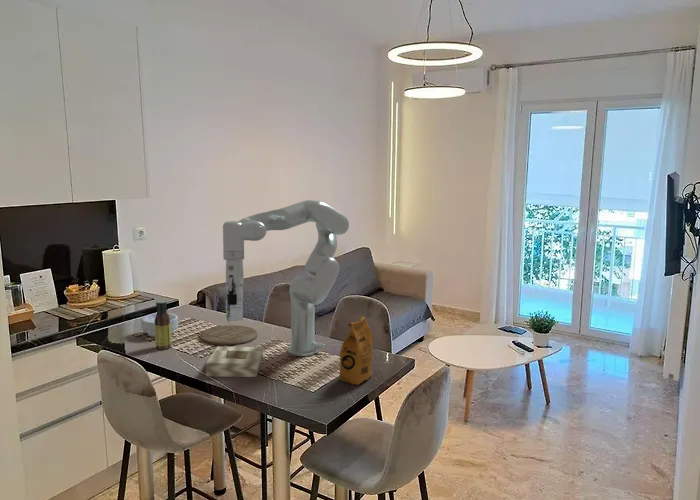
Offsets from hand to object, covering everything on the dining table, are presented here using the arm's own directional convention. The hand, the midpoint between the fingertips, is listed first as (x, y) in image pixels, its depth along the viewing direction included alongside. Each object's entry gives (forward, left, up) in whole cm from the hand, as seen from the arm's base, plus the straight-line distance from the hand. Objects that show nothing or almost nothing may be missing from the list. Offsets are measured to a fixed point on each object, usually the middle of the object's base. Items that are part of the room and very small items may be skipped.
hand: (234, 301), depth 194 cm
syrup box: (0, 0, -7) cm, 7 cm away
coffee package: (-46, +10, -26) cm, 53 cm away
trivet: (+9, -36, -26) cm, 46 cm away
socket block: (-1, +1, -25) cm, 25 cm away
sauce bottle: (+33, -20, -26) cm, 47 cm away
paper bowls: (+40, -38, -26) cm, 61 cm away
